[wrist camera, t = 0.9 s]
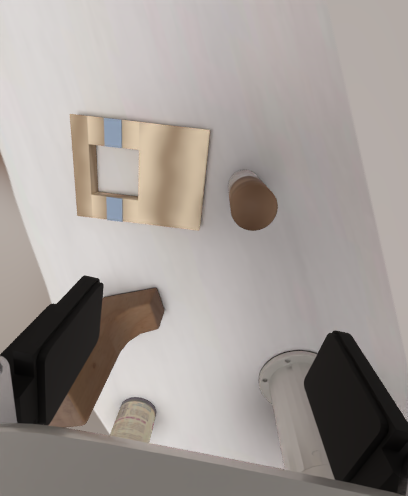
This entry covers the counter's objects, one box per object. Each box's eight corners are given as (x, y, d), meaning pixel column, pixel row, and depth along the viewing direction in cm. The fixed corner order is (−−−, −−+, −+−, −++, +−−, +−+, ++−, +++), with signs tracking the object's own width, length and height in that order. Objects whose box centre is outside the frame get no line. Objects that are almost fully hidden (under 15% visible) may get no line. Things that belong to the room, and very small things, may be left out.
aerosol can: (118, 417, 53) (62, 569, 34) (123, 393, 50) (65, 543, 31) (152, 425, 53) (115, 580, 34) (159, 402, 50) (122, 556, 32)
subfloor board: (210, 130, 32) (209, 129, 30) (200, 225, 37) (198, 231, 35) (78, 115, 32) (68, 113, 30) (84, 211, 37) (76, 216, 35)
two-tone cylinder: (262, 171, 34) (282, 188, 23) (256, 203, 35) (272, 233, 24) (230, 167, 34) (234, 182, 23) (226, 199, 35) (227, 227, 24)
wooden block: (157, 286, 41) (112, 388, 24) (165, 311, 42) (128, 422, 26) (102, 296, 42) (24, 399, 26) (112, 319, 44) (45, 431, 27)
